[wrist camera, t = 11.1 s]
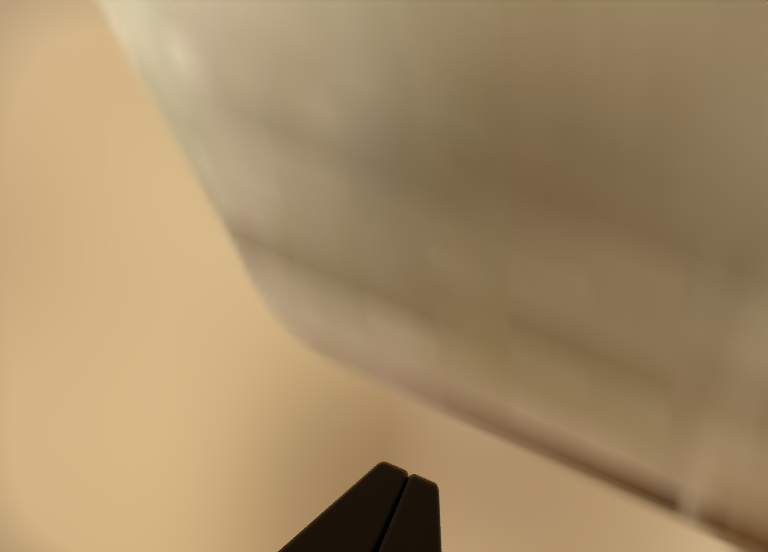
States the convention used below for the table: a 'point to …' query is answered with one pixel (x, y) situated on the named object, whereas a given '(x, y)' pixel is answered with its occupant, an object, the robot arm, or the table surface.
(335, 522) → the robot arm
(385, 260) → the table surface
